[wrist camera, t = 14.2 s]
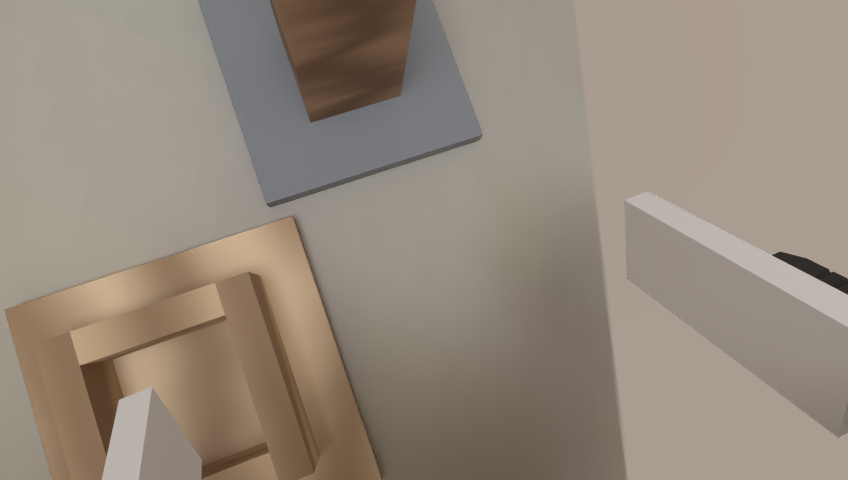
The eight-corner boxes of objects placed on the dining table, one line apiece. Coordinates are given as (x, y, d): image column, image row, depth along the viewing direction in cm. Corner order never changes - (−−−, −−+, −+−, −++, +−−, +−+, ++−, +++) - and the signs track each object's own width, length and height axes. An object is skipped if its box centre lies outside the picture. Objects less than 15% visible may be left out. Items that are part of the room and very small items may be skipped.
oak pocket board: (98, 593, 25) (50, 646, 21) (17, 309, 26) (-43, 309, 22) (382, 477, 27) (385, 505, 23) (294, 219, 28) (283, 204, 25)
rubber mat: (269, 207, 28) (266, 203, 27) (201, 3, 30) (195, -8, 29) (478, 140, 30) (482, 134, 29) (407, -51, 31) (408, -62, 30)
